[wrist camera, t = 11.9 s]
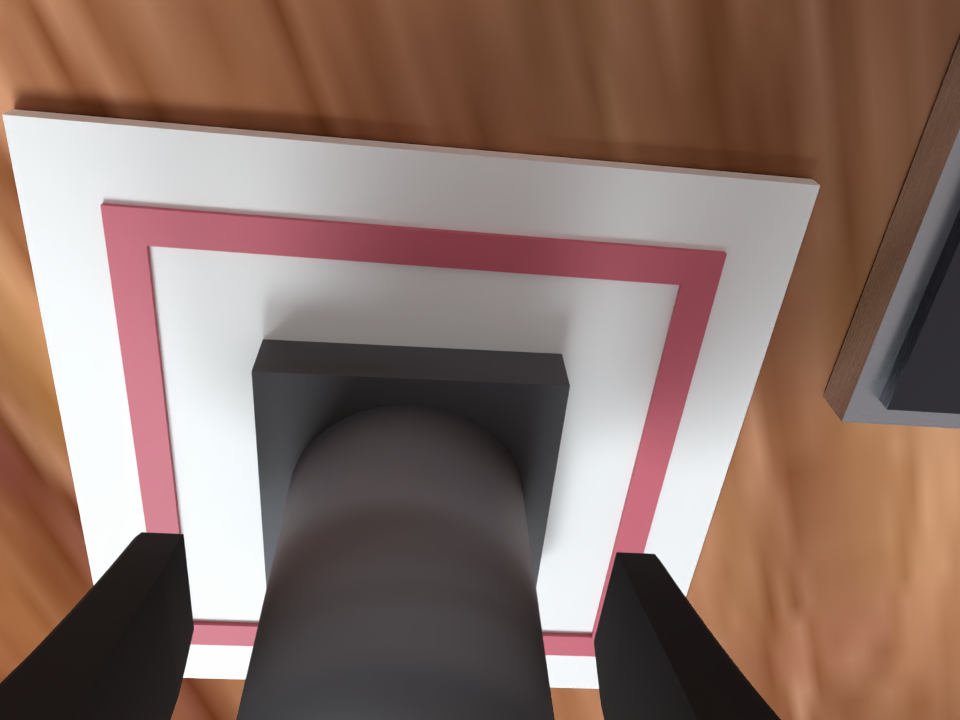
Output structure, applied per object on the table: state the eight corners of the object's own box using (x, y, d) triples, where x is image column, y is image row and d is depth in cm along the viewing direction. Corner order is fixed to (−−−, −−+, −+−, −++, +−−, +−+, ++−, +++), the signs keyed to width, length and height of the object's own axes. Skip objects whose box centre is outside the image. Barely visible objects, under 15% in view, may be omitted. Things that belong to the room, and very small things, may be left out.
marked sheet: (652, 678, 19) (656, 693, 19) (115, 664, 18) (109, 679, 18) (812, 178, 13) (822, 187, 13) (11, 109, 12) (-1, 116, 12)
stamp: (528, 566, 17) (570, 882, 12) (275, 559, 16) (203, 884, 11) (562, 354, 14) (635, 637, 9) (263, 338, 14) (159, 629, 9)
